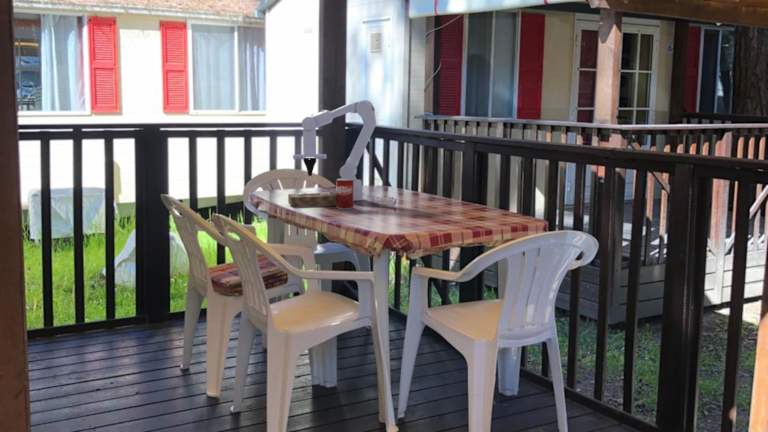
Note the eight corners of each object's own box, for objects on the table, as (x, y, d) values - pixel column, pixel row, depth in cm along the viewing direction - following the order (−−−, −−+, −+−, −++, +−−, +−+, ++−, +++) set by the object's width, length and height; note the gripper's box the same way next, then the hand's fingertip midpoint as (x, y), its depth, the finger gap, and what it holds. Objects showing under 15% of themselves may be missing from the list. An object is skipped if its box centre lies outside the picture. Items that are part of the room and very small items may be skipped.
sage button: (306, 201, 350) (306, 192, 350) (307, 202, 346) (307, 193, 346) (295, 201, 349) (295, 192, 349) (297, 203, 345) (297, 194, 345)
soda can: (351, 209, 335) (351, 180, 333) (334, 209, 336) (334, 180, 334) (355, 207, 342) (355, 178, 340) (338, 206, 343) (338, 177, 341)
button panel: (334, 202, 356) (334, 192, 356) (339, 205, 347) (339, 195, 346) (288, 203, 352) (288, 194, 351) (291, 206, 342) (291, 197, 341)
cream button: (329, 200, 353) (329, 191, 352) (331, 202, 348) (331, 193, 348) (319, 200, 352) (319, 192, 351) (320, 202, 347) (320, 193, 347)
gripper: (324, 143, 366) (324, 174, 369) (291, 144, 363) (292, 174, 365) (327, 144, 360) (327, 175, 362) (293, 145, 356) (294, 176, 358)
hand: (309, 175), depth 363 cm, fingers closed
